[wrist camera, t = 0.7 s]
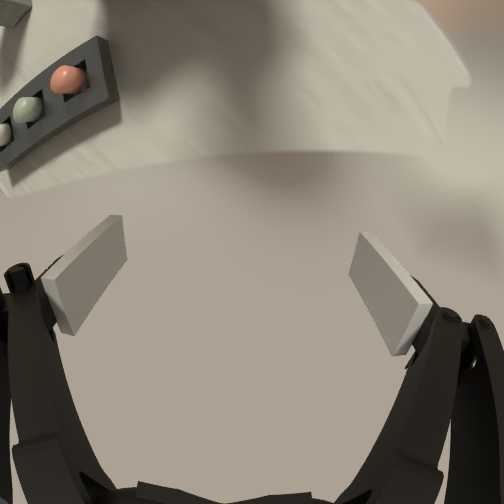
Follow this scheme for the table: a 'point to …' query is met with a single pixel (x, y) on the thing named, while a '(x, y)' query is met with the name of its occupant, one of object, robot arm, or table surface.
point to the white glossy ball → (5, 134)
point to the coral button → (67, 80)
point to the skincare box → (13, 11)
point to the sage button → (27, 109)
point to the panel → (60, 100)
